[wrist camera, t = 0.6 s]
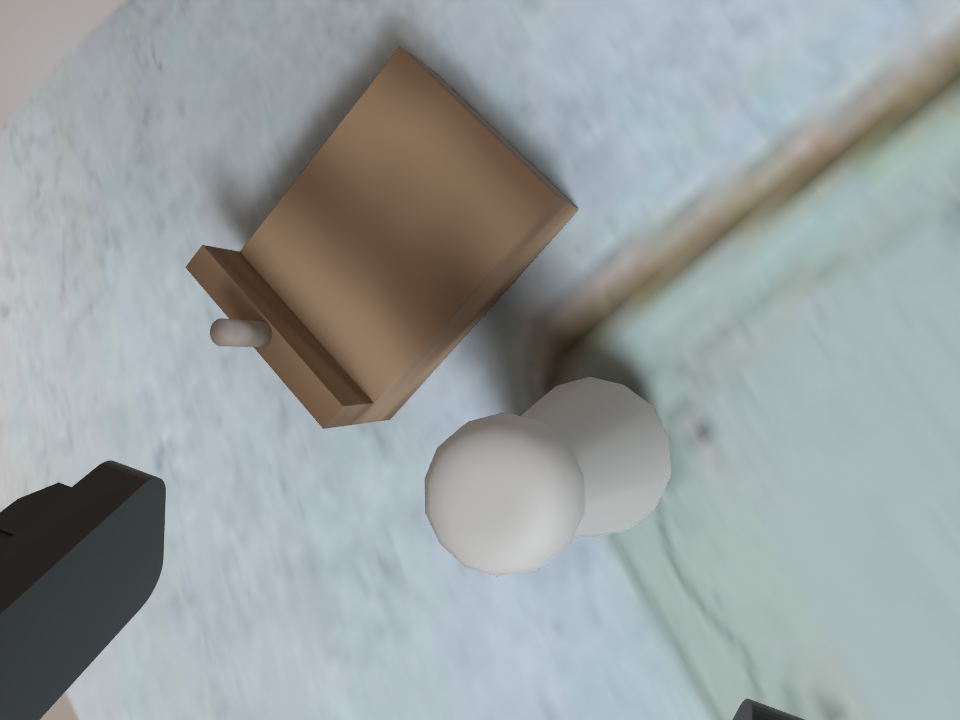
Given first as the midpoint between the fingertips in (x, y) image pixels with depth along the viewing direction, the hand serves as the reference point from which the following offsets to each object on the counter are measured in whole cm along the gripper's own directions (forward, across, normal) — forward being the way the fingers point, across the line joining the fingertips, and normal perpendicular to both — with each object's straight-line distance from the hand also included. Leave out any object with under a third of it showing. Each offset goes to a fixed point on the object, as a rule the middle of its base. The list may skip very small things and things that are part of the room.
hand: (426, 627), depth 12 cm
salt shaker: (+22, -2, +10) cm, 24 cm away
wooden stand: (+26, +9, +6) cm, 28 cm away
